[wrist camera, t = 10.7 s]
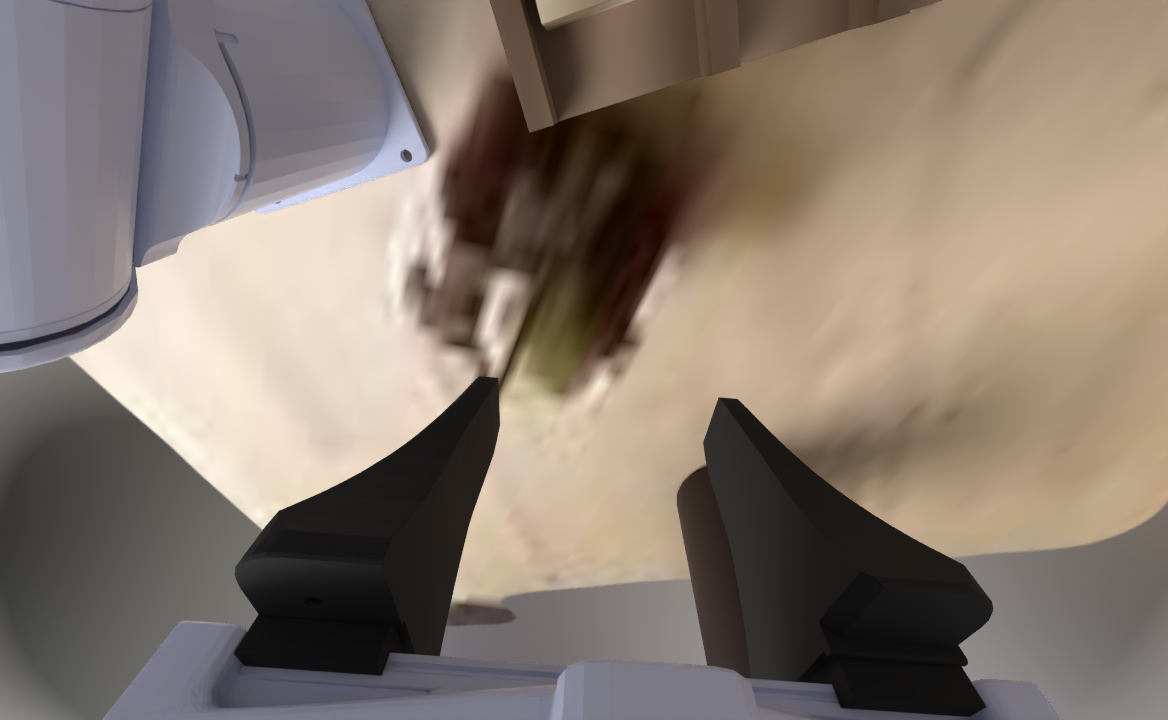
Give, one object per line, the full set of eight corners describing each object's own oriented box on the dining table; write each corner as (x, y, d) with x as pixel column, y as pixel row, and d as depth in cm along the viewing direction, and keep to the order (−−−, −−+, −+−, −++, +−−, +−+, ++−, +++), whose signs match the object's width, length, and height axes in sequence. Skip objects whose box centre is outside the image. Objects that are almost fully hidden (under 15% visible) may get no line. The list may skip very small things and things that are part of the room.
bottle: (748, 448, 29) (958, 953, 12) (779, 502, 32) (982, 965, 15) (660, 481, 31) (733, 949, 14) (697, 529, 34) (794, 960, 17)
